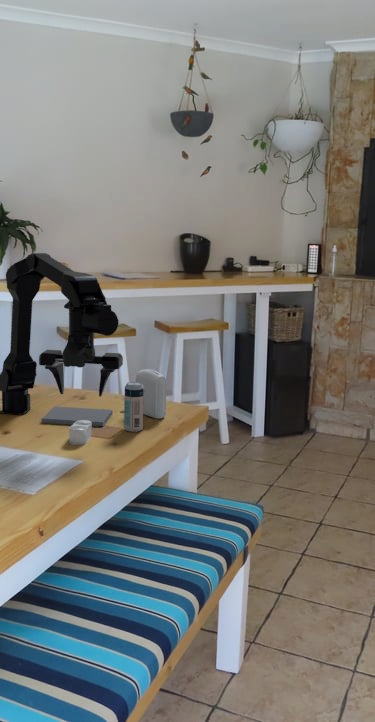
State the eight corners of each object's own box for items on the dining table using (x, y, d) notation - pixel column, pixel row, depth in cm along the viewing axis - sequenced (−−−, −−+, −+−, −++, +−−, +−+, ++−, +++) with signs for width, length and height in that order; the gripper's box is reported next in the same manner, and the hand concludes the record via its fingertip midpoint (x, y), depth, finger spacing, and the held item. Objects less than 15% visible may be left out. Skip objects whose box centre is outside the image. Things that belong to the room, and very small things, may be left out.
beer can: (145, 428, 176) (146, 382, 173) (138, 433, 171) (139, 386, 169) (128, 426, 177) (129, 380, 175) (120, 431, 173) (121, 384, 170)
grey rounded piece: (67, 444, 161) (67, 430, 161) (79, 430, 172) (79, 417, 172) (84, 445, 161) (84, 431, 160) (95, 431, 172) (95, 418, 171)
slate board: (41, 422, 177) (41, 418, 177) (54, 410, 189) (54, 406, 189) (102, 426, 176) (102, 422, 176) (112, 414, 188) (112, 409, 187)
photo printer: (132, 411, 191) (133, 367, 189) (145, 409, 194) (146, 365, 191) (155, 420, 183) (156, 374, 181) (168, 417, 186) (169, 372, 184)
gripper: (31, 333, 153) (31, 401, 156) (114, 337, 152) (113, 406, 155) (45, 325, 164) (46, 389, 167) (123, 329, 163) (122, 394, 166)
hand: (81, 395), depth 163 cm, fingers open, 9 cm apart
